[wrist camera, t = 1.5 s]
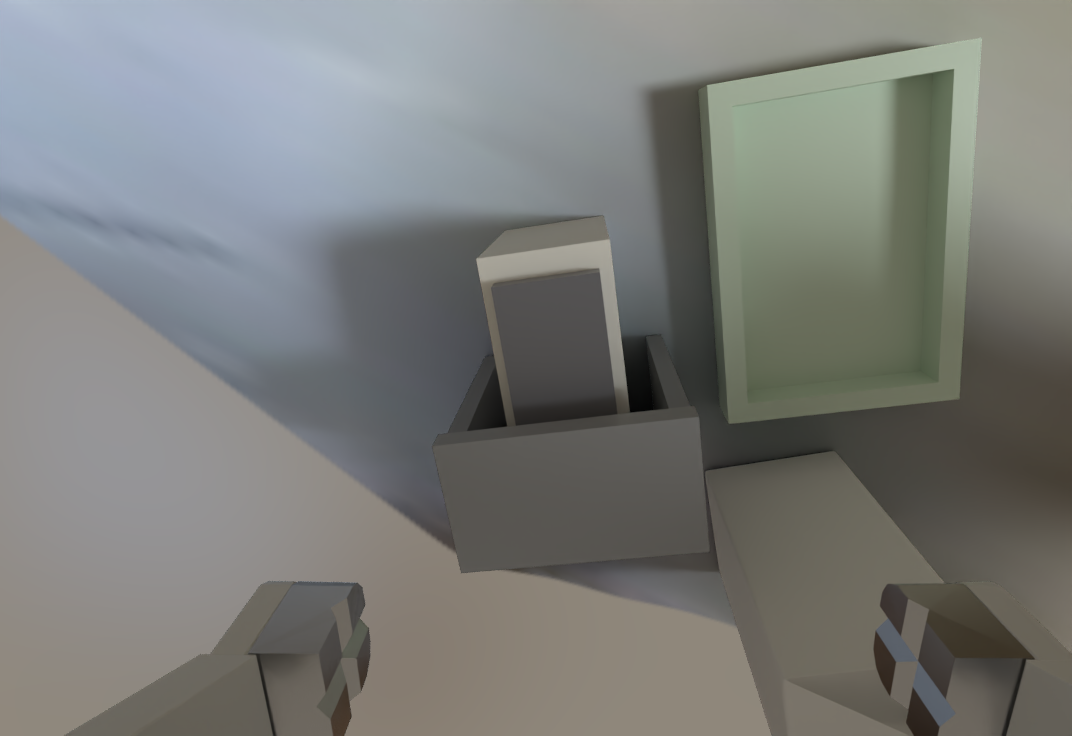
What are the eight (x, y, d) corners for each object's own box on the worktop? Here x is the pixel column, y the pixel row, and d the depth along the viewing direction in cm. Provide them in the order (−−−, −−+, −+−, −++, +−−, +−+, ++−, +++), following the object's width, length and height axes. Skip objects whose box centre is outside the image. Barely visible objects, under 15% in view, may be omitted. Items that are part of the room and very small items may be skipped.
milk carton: (834, 448, 34) (1104, 771, 16) (842, 556, 36) (1089, 946, 19) (703, 468, 35) (823, 794, 17) (719, 572, 38) (840, 957, 20)
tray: (950, 46, 28) (981, 37, 26) (934, 382, 33) (959, 399, 31) (698, 90, 29) (707, 85, 27) (719, 406, 34) (728, 423, 32)
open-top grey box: (660, 325, 33) (698, 416, 21) (670, 428, 35) (710, 563, 23) (483, 347, 34) (432, 446, 23) (502, 447, 36) (463, 583, 25)
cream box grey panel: (603, 215, 31) (610, 242, 22) (625, 399, 34) (639, 491, 25) (505, 230, 32) (472, 262, 23) (535, 410, 35) (517, 502, 26)
